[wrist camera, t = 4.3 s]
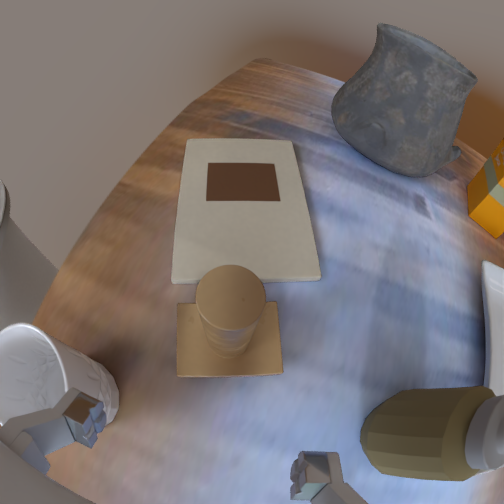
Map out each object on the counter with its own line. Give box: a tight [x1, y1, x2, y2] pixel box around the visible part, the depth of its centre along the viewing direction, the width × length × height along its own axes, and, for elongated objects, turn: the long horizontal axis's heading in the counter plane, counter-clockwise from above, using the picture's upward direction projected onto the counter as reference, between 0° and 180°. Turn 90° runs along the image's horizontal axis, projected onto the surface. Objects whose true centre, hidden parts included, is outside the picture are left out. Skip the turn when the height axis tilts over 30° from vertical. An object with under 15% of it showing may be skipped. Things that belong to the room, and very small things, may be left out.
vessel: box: [332, 23, 478, 177], centre depth 31 cm, size 22×22×20 cm
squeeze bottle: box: [360, 386, 504, 481], centre depth 12 cm, size 8×8×18 cm
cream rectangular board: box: [171, 138, 322, 284], centre depth 30 cm, size 14×20×1 cm
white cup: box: [0, 323, 119, 426], centre depth 15 cm, size 8×8×10 cm
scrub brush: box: [177, 265, 283, 378], centre depth 17 cm, size 8×6×13 cm
